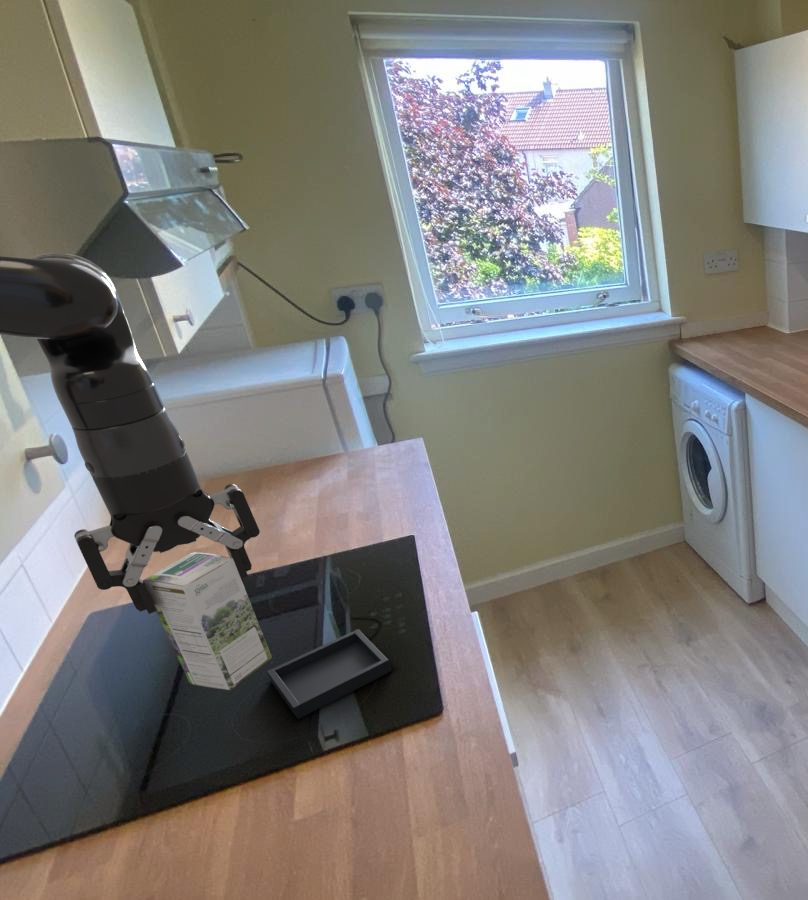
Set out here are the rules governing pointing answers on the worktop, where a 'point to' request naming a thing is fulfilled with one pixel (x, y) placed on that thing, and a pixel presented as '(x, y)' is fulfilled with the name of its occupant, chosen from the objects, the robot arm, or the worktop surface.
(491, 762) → the worktop surface
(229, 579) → the syrup box
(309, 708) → the tray
